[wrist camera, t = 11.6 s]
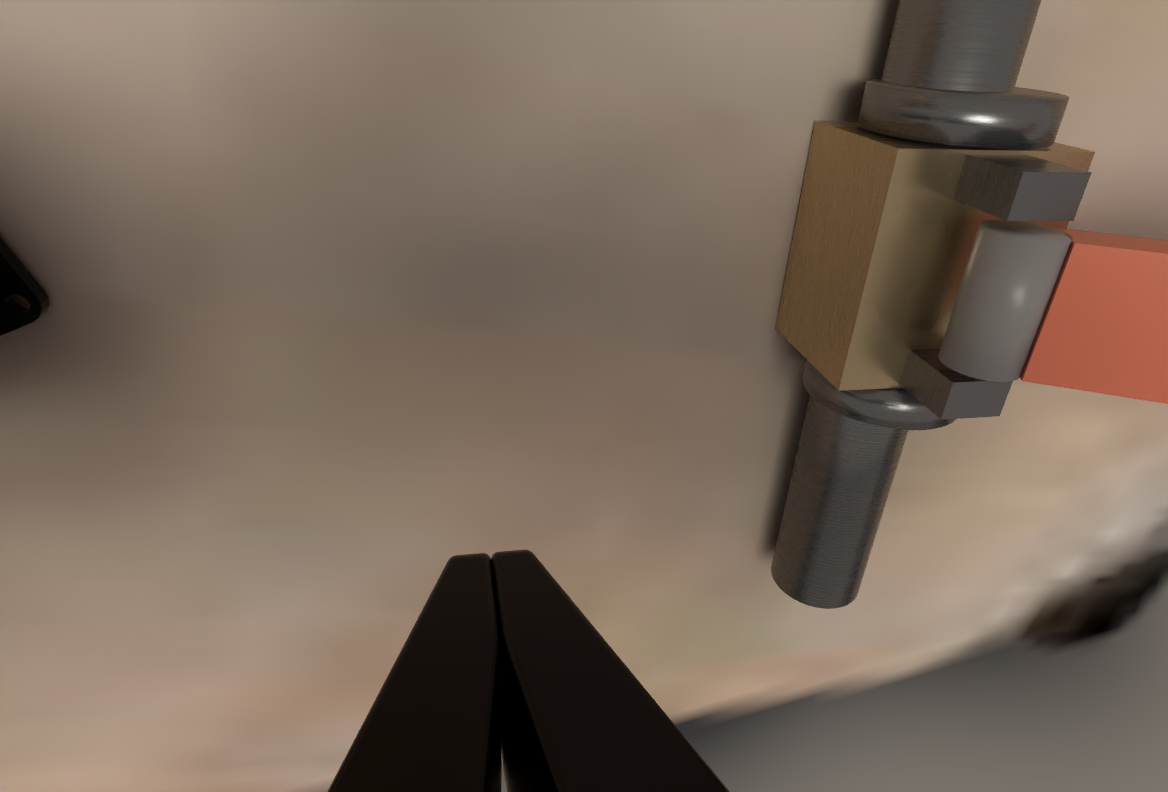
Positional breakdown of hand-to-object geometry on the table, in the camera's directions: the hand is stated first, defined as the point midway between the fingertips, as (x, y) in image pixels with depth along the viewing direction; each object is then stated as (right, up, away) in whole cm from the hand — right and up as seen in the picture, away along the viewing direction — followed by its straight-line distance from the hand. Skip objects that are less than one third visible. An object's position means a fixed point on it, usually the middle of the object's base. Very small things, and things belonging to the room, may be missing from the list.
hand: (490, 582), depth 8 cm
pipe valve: (+9, +7, +13) cm, 18 cm away
